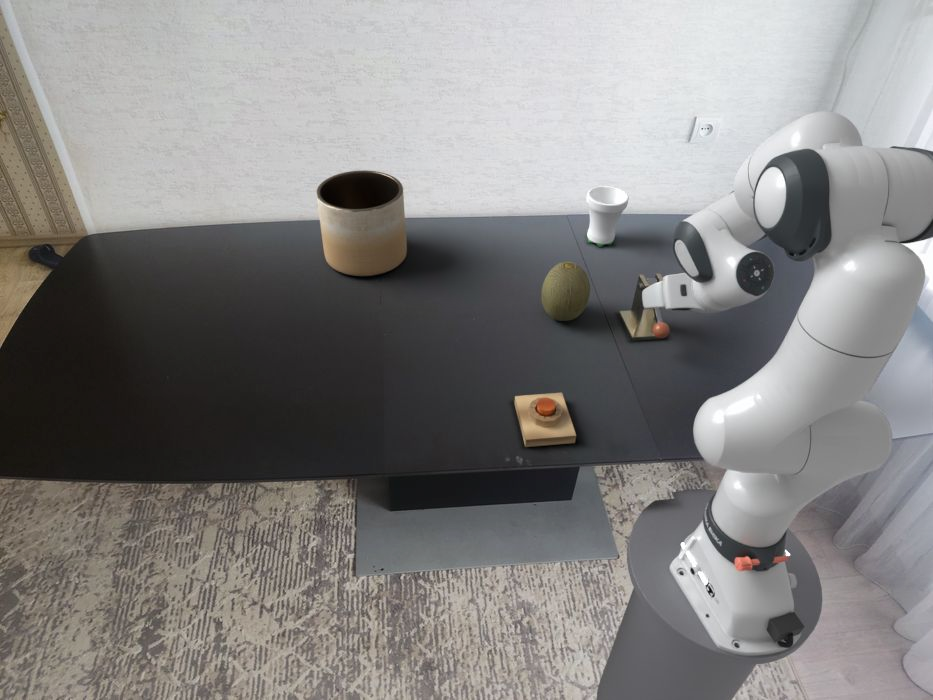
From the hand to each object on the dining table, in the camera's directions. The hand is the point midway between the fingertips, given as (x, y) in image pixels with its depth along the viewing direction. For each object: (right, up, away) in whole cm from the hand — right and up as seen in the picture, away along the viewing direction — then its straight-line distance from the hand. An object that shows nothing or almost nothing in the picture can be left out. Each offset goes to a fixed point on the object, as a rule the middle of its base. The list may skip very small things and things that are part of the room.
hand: (679, 301), depth 136 cm
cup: (-6, +21, +51) cm, 56 cm away
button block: (-28, -25, -2) cm, 38 cm away
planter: (-71, +15, +43) cm, 84 cm away
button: (-28, -22, -4) cm, 36 cm away
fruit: (-21, -2, +25) cm, 32 cm away
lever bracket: (-2, -5, +22) cm, 22 cm away
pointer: (-1, -1, +14) cm, 14 cm away
